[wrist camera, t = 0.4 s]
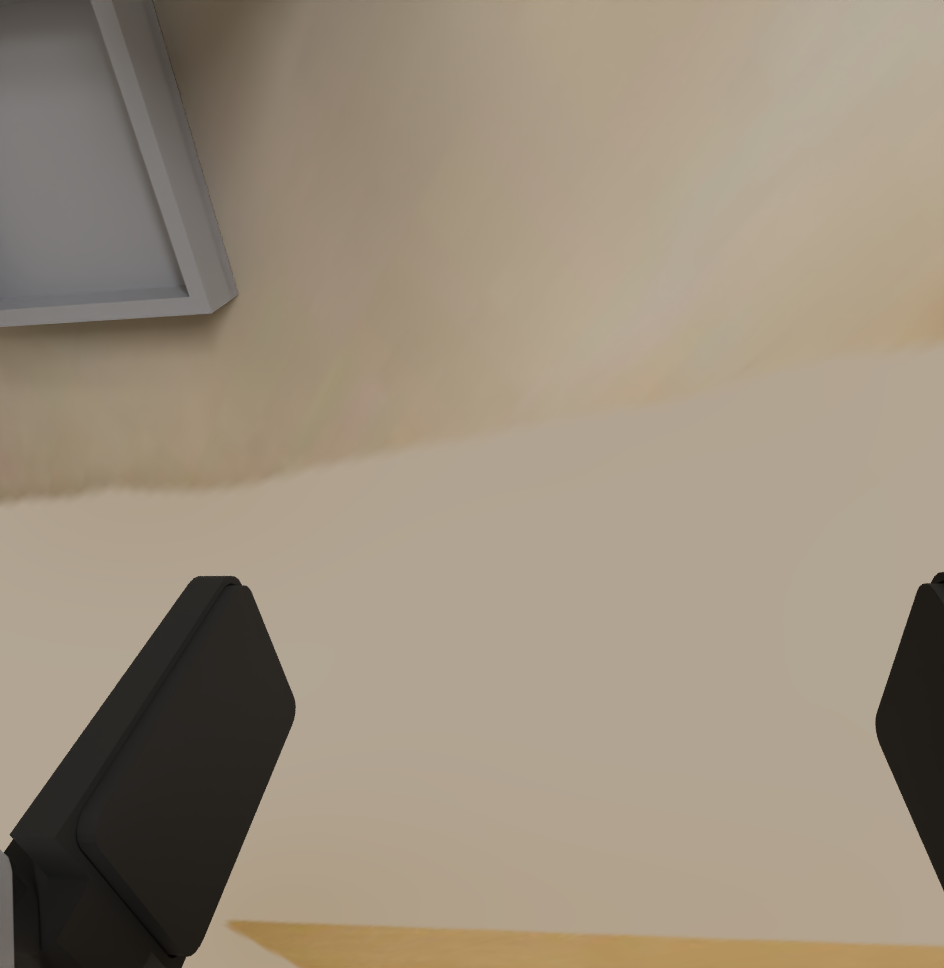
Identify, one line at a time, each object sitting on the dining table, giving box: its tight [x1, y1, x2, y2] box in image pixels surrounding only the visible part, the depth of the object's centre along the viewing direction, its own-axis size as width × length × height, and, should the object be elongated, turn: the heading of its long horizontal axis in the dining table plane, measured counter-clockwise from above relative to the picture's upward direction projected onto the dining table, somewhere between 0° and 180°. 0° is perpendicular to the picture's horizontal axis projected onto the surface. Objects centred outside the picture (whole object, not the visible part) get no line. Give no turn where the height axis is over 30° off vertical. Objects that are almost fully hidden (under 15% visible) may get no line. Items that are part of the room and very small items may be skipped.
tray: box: [0, 0, 238, 327], centre depth 35 cm, size 16×16×4 cm
